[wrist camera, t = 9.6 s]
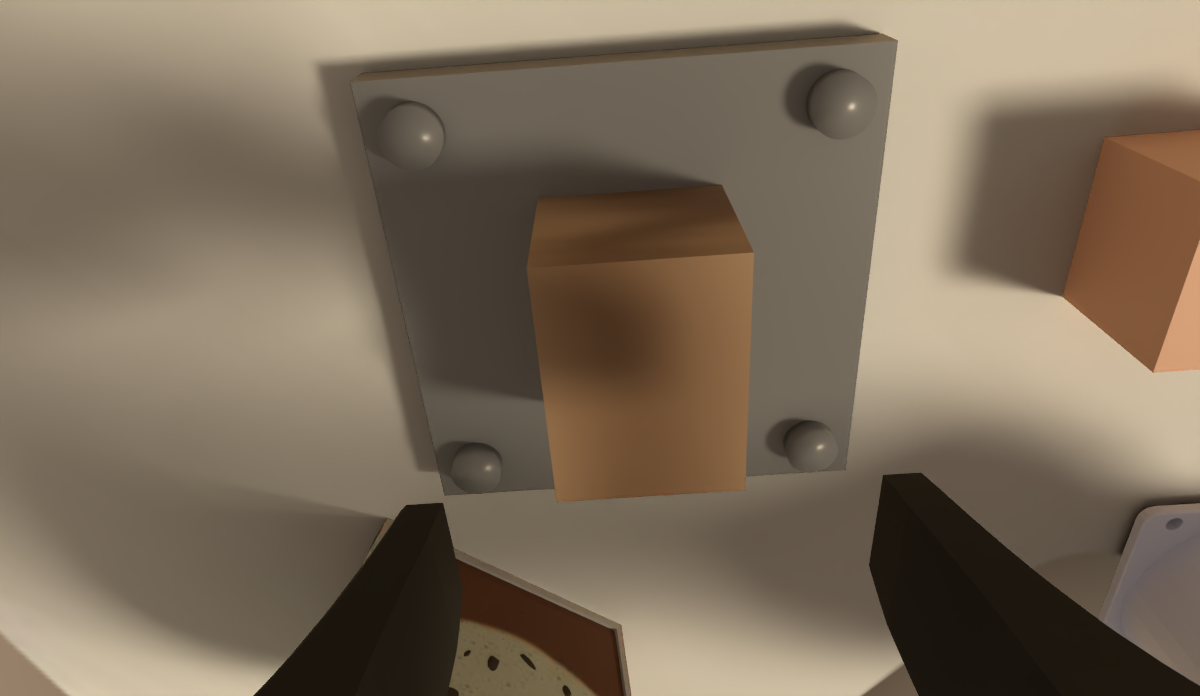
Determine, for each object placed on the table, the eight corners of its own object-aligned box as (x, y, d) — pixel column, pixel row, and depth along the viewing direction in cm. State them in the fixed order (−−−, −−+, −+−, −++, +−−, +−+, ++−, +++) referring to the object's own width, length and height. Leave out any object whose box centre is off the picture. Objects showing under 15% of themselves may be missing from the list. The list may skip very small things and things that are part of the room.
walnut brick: (721, 184, 18) (754, 252, 15) (719, 393, 21) (745, 490, 18) (537, 197, 18) (526, 268, 15) (561, 404, 21) (556, 502, 18)
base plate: (882, 33, 17) (908, 45, 16) (835, 448, 23) (851, 483, 22) (361, 73, 18) (343, 88, 16) (449, 473, 24) (441, 509, 22)
